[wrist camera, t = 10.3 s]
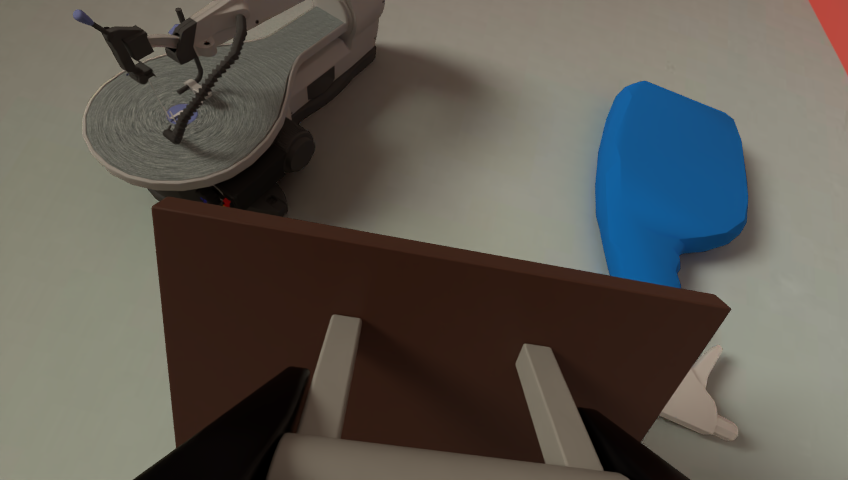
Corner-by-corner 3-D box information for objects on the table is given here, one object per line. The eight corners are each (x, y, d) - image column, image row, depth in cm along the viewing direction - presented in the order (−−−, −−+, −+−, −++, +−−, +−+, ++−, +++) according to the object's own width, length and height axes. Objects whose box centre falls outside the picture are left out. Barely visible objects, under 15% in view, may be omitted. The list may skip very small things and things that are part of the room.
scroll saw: (290, -165, 23) (457, -76, 22) (304, 10, 32) (422, 81, 31) (-117, -39, 13) (138, 136, 12) (68, 160, 23) (225, 272, 21)
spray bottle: (623, 68, 31) (576, 370, 20) (753, 120, 31) (784, 454, 20) (602, 97, 34) (549, 379, 22) (722, 145, 34) (732, 453, 22)
